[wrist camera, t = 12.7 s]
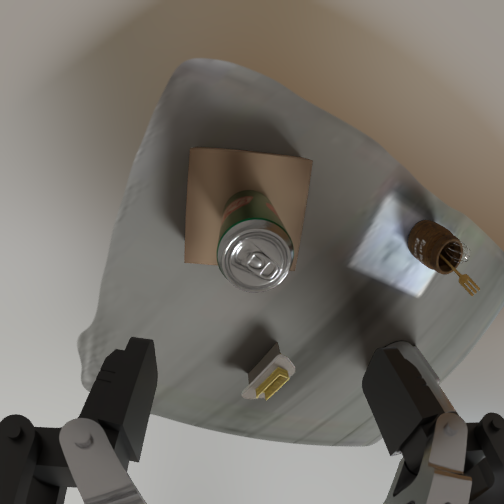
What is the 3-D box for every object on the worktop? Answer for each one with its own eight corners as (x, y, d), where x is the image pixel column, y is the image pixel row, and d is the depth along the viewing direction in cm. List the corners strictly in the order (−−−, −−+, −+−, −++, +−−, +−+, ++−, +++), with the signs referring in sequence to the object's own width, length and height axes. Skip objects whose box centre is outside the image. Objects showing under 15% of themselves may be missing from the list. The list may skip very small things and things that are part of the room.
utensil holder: (430, 210, 35) (486, 239, 24) (441, 244, 37) (491, 279, 26) (401, 232, 36) (452, 268, 25) (413, 265, 38) (460, 307, 27)
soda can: (241, 178, 28) (246, 206, 16) (283, 207, 29) (313, 252, 18) (213, 220, 29) (199, 272, 18) (254, 246, 30) (265, 310, 19)
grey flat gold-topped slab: (331, 334, 42) (344, 362, 36) (265, 400, 47) (268, 428, 41) (268, 301, 39) (274, 330, 33) (206, 378, 44) (203, 408, 38)
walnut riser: (301, 157, 32) (312, 160, 27) (287, 253, 36) (294, 271, 32) (196, 146, 31) (190, 148, 26) (190, 245, 35) (184, 262, 31)
